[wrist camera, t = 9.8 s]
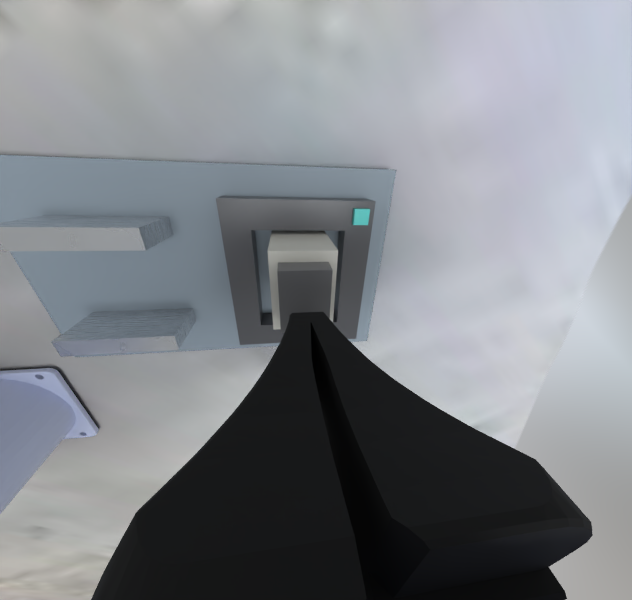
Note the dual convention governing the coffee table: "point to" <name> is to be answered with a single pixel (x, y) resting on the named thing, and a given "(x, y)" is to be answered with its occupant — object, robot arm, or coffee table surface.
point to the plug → (301, 274)
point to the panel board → (178, 250)
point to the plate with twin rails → (104, 235)
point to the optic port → (293, 214)
